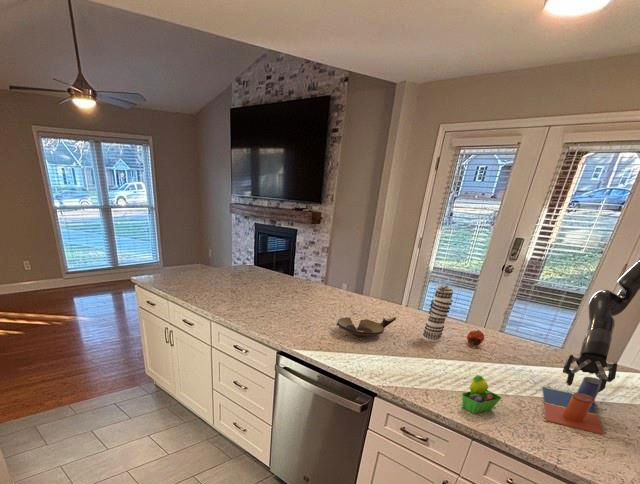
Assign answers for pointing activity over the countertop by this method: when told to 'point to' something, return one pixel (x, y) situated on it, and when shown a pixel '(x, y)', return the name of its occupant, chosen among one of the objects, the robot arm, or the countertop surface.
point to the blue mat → (560, 398)
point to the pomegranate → (475, 337)
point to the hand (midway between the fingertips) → (584, 387)
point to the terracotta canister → (578, 407)
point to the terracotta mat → (588, 423)
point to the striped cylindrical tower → (438, 313)
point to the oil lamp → (364, 326)
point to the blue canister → (589, 386)
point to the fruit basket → (479, 396)
